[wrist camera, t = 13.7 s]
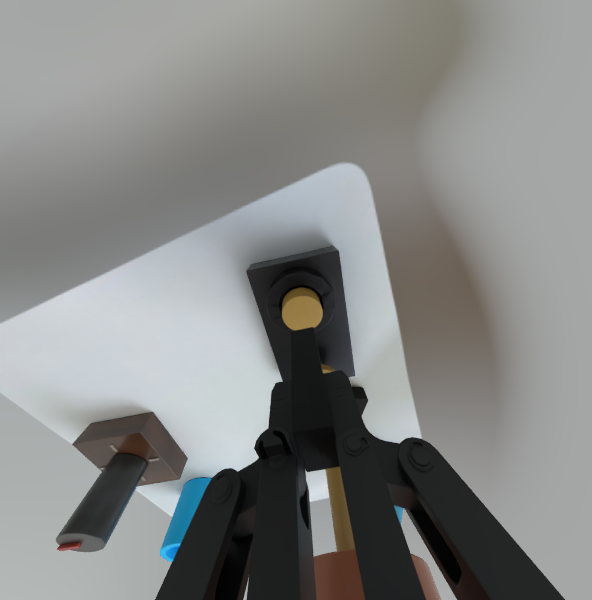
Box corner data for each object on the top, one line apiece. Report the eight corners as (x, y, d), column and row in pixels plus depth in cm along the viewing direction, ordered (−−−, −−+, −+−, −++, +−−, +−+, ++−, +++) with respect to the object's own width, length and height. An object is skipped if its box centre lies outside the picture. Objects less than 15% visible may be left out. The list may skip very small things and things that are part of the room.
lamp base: (249, 264, 22) (242, 277, 19) (334, 245, 22) (343, 254, 18) (285, 376, 29) (284, 401, 25) (350, 363, 28) (359, 387, 25)
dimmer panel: (90, 423, 32) (70, 445, 29) (152, 411, 31) (139, 433, 28) (133, 467, 37) (120, 490, 34) (187, 458, 36) (179, 480, 33)
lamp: (275, 358, 22) (219, 1009, 4) (349, 344, 22) (635, 1009, 4) (291, 408, 26) (299, 895, 8) (356, 397, 25) (528, 887, 7)
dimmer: (135, 450, 30) (84, 534, 22) (153, 470, 32) (112, 552, 24) (103, 456, 30) (41, 541, 23) (123, 475, 32) (72, 558, 25)
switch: (278, 291, 20) (277, 300, 18) (316, 283, 19) (319, 291, 18) (287, 323, 21) (287, 335, 19) (322, 316, 21) (325, 327, 19)
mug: (196, 503, 42) (176, 567, 35) (175, 482, 39) (148, 548, 31) (252, 492, 41) (244, 556, 34) (236, 470, 38) (224, 535, 30)
